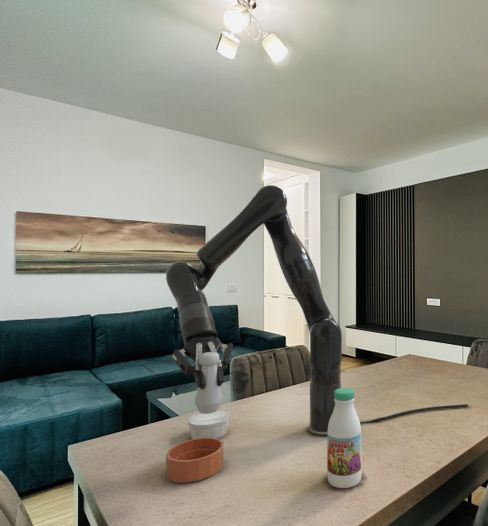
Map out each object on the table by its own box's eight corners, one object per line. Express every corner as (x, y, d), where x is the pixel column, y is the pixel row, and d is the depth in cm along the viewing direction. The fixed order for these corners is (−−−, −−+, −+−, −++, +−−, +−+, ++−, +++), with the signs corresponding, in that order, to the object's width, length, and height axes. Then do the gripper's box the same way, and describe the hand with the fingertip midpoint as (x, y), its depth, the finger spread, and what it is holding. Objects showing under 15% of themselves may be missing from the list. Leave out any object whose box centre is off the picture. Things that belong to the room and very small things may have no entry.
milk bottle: (328, 471, 88) (327, 385, 88) (360, 469, 88) (360, 384, 89) (326, 490, 80) (326, 396, 81) (362, 488, 81) (362, 395, 81)
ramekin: (203, 447, 100) (203, 427, 101) (179, 437, 106) (179, 419, 106) (238, 432, 110) (238, 414, 110) (214, 424, 116) (214, 407, 116)
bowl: (231, 457, 95) (231, 437, 95) (208, 484, 82) (208, 461, 83) (184, 456, 95) (184, 437, 95) (154, 483, 83) (154, 460, 83)
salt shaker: (211, 416, 81) (212, 356, 82) (188, 414, 83) (189, 355, 83) (227, 406, 87) (227, 350, 87) (205, 405, 88) (206, 349, 89)
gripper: (168, 318, 87) (180, 382, 77) (229, 313, 96) (247, 370, 86) (163, 338, 91) (174, 401, 81) (223, 331, 100) (239, 388, 90)
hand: (211, 385), depth 83 cm, fingers closed on salt shaker, 3 cm apart
